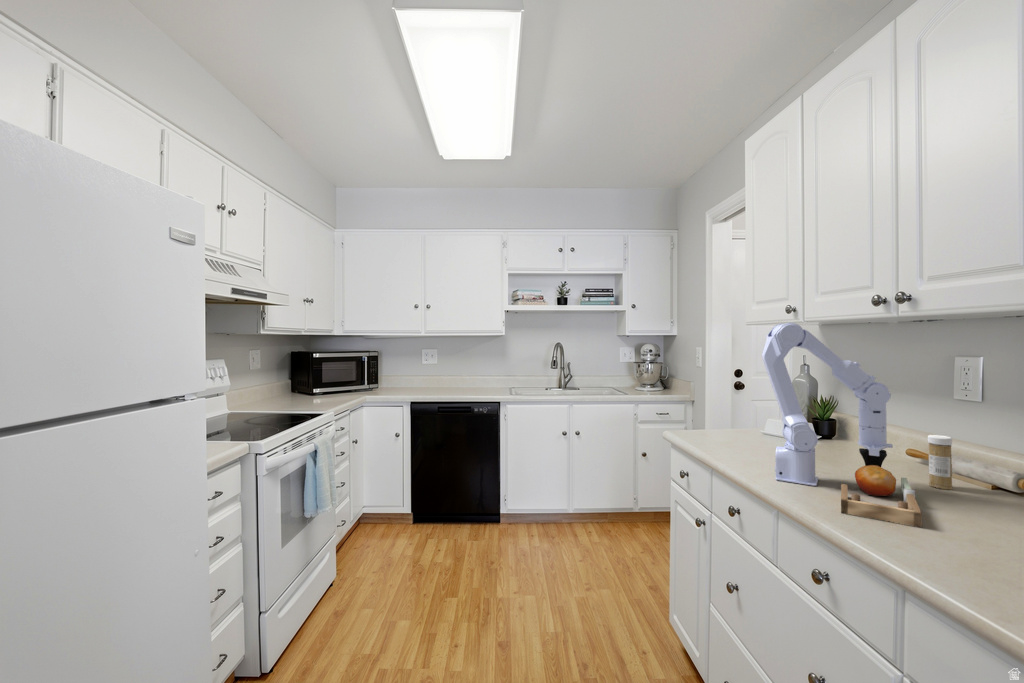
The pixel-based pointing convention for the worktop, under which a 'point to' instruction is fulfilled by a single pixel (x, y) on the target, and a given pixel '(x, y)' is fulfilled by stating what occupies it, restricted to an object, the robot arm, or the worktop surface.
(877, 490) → the fruit
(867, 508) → the cradle
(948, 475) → the sprinkles bottle
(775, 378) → the robot arm
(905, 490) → the gate
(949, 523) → the worktop surface
